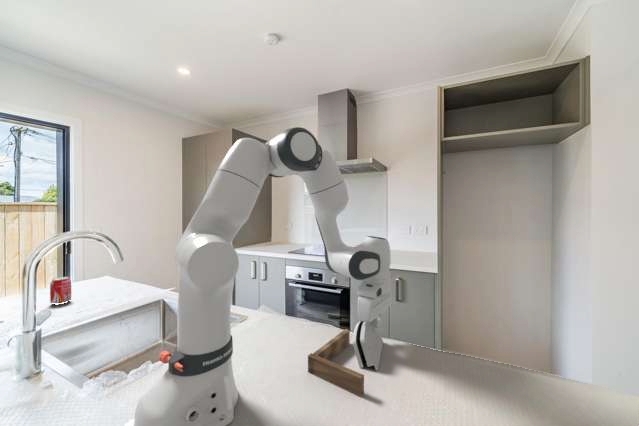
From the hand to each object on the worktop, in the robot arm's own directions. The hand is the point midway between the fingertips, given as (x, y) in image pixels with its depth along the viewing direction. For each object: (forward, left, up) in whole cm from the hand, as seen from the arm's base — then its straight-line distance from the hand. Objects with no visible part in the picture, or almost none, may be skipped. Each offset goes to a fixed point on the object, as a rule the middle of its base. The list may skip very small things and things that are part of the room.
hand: (376, 326), depth 85 cm
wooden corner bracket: (-16, +1, -5) cm, 17 cm away
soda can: (-54, +136, -6) cm, 146 cm away
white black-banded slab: (-8, 0, -6) cm, 9 cm away
